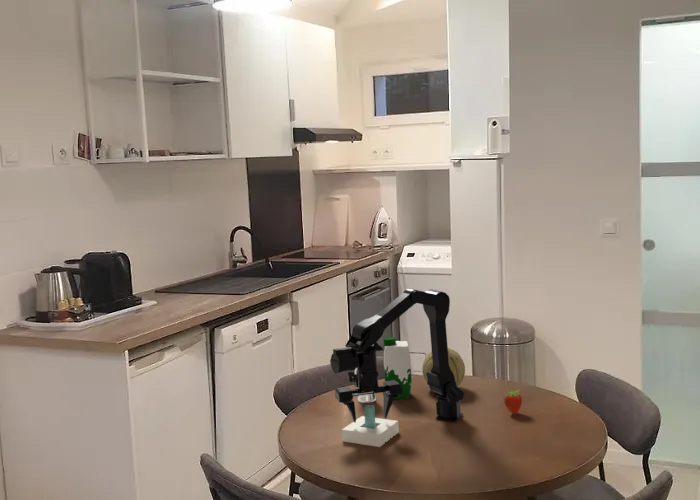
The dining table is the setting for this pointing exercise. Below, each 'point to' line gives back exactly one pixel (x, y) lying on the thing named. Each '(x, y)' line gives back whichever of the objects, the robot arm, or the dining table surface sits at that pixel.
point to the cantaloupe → (454, 363)
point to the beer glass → (366, 396)
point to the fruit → (513, 401)
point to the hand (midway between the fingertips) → (370, 419)
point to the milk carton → (397, 364)
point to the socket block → (370, 432)
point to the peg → (369, 416)
